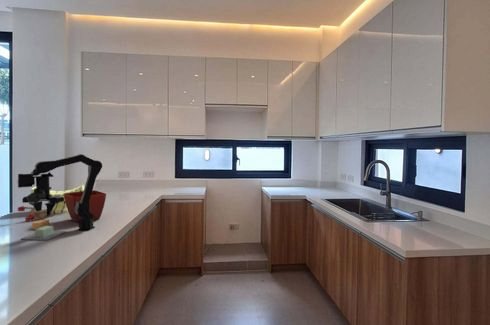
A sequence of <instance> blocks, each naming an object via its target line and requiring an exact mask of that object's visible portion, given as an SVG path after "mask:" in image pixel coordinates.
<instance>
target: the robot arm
mask: <svg viewBox="0 0 490 325" xmlns="http://www.w3.org/2000/svg"><path fill="white" fill-rule="evenodd" d="M77 163H82V164H84V165H86V166H87V179H86V181H85V184H84V191H83V195H82V198H81V200H80V202H76V206H75V208H74V209H75V212H76V214H77V215H79V216H80V217H81V218H80V219H79V223H78V228H77V231H90V230H92V229H94V228H96V226H94V220H93V216H94V215H93V214H91V213H90V212H89V208H90V204H89V201H90V197H91V194H92V190H94V186H95V183H96V178H97V176H98V175H99V174H100V172H101V171H102V169H103V164H102V162H101V161H100V160H98V159H96V160H95V159H92V158H91V157H87V156H86V155H85V154H76V155H73V156H68V157H64V158H59V159H56V160H45V161H44V160H43V161H42V160H41V161H38V162H36V164H35V165H34V169H33V170H32V171H31V172H30V173H18V174H17V187H18V189H21V188H33V186H36V188H35V189H34V192H33V193H30V194H28V195H27V196H23V197H22V203H27V204H29V205H31V206H33V207H34V208H35V212H37V211H41V210H43V202H47V203H44V205H45V206H46V209H47V216H49V215H50V213H51V211H52V209H53V207H54V206H55V204H56V203H59V202H63V201H64V197H63V196H54V197H52V195H50V191H51V190H52V186H50V178H53V177H54V174H52V173H51V171H52V170H55V169H57V168H61V167H64V166H69V165H73V164H77Z"/></svg>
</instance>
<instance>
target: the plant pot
mask: <svg viewBox="0 0 490 325" xmlns="http://www.w3.org/2000/svg"><path fill="white" fill-rule="evenodd" d="M82 195H83V191H82V192H72V193H64V198H65V202H66V206H67V209H68V212H67V213H68V214H69V217H70V219H71V220H72V221H74V222H76V223H78V224H79V219H80V218H81V217H80V216H79V215H77V214H76V212H75V209H74V208H75V206H76V202H80V200H81V198H82ZM106 197H107V193H105V192H102V191H99V190H96V189H95V190H94V189H93V190H92V194H91V197H90V201H89V204H90V208H89V212H90V213H91V214H93V215H94V216H93V221H97V220H100V218H101V216H102V214H103V210H104V207H105V203H106V199H107V198H106Z"/></svg>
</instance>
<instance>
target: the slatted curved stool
mask: <svg viewBox="0 0 490 325" xmlns="http://www.w3.org/2000/svg"><path fill="white" fill-rule="evenodd" d="M30 188H31V189H30V192H31V193H33V192H34V189H35V188H36V185H34V186H32V187H30ZM84 188H85V184H84V183H83V184H82V185H79V186H78V187H74V188H72V189H68V190H52V189H50V195H52V197H54V196H63V197H64V193H72V192H82V191H84ZM31 193H30V194H31ZM52 210H53V214H61V213H62V214H65V212H66V213H69V212H68V209H67V206H66V202H65V198H64V201H63V202H59V203H56V204H55V206H54V207H53V209H52Z"/></svg>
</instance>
